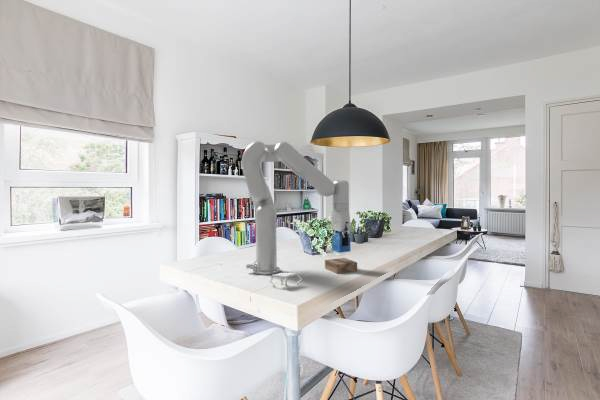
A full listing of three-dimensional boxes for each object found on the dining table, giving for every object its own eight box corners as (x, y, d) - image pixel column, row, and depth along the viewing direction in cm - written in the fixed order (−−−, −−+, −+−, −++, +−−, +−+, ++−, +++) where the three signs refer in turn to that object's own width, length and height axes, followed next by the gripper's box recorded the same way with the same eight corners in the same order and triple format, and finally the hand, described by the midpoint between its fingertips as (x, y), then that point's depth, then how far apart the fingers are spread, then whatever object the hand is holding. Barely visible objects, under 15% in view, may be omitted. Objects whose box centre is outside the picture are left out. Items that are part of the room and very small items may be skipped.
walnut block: (336, 273, 150) (336, 264, 150) (325, 268, 160) (325, 259, 160) (357, 270, 155) (357, 262, 155) (344, 265, 165) (344, 257, 165)
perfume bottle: (339, 252, 153) (339, 226, 152) (332, 250, 158) (331, 225, 158) (350, 251, 156) (350, 225, 155) (342, 249, 161) (342, 224, 161)
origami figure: (278, 291, 125) (278, 278, 125) (269, 286, 132) (269, 273, 132) (305, 287, 131) (305, 274, 131) (295, 281, 138) (295, 270, 138)
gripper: (324, 206, 162) (325, 242, 163) (344, 208, 147) (344, 248, 148) (338, 205, 166) (338, 241, 166) (358, 207, 150) (358, 246, 151)
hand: (341, 244), depth 157 cm, fingers closed on perfume bottle, 6 cm apart
